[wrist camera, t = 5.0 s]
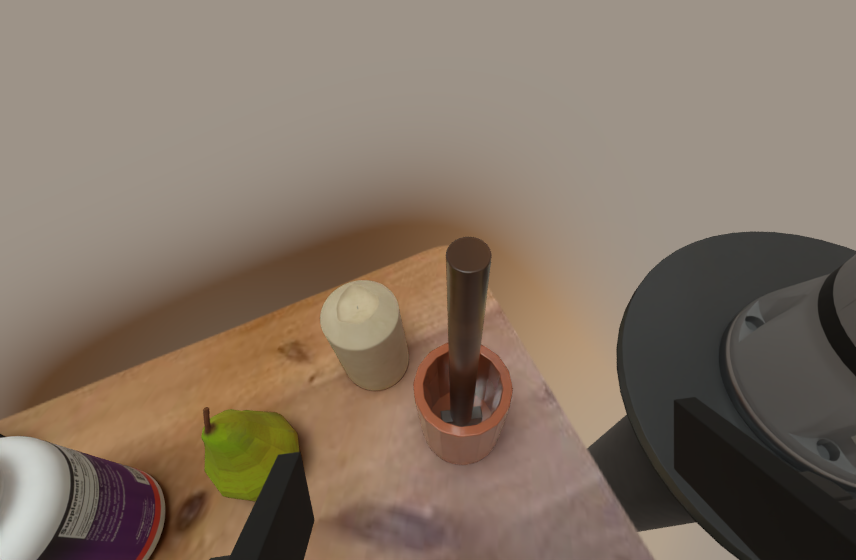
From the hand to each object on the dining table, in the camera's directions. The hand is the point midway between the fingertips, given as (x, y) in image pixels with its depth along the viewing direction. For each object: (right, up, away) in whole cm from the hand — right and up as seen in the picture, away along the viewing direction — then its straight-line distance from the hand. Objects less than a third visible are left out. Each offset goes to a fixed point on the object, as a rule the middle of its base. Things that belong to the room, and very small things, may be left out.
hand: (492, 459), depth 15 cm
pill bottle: (-25, -12, +17) cm, 32 cm away
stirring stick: (0, -5, +19) cm, 19 cm away
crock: (0, -5, +19) cm, 20 cm away
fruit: (-14, -8, +19) cm, 25 cm away
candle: (-7, -1, +23) cm, 24 cm away
